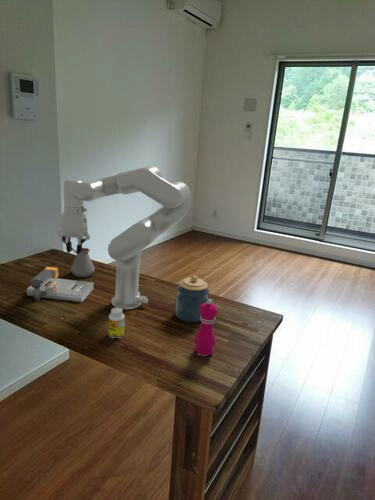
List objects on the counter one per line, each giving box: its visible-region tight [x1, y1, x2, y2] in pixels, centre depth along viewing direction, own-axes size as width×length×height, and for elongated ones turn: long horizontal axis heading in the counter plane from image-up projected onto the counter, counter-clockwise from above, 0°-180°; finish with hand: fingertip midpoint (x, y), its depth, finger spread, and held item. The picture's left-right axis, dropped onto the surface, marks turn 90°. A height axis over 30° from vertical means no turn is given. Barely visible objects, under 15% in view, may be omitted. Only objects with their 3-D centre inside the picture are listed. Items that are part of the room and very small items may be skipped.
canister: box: [174, 275, 210, 323], centre depth 151 cm, size 13×13×18 cm
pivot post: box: [33, 287, 41, 302], centre depth 154 cm, size 2×2×6 cm
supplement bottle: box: [107, 307, 125, 339], centre depth 133 cm, size 6×6×10 cm
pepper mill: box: [194, 298, 218, 355], centre depth 126 cm, size 7×7×20 cm
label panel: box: [26, 277, 94, 303], centre depth 163 cm, size 24×14×3 cm, turn 84°
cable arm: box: [30, 266, 59, 288], centre depth 159 cm, size 17×5×4 cm, turn 174°
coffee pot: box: [59, 238, 96, 278], centre depth 185 cm, size 21×12×15 cm, turn 58°
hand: (74, 252), depth 158 cm, fingers open, 3 cm apart
